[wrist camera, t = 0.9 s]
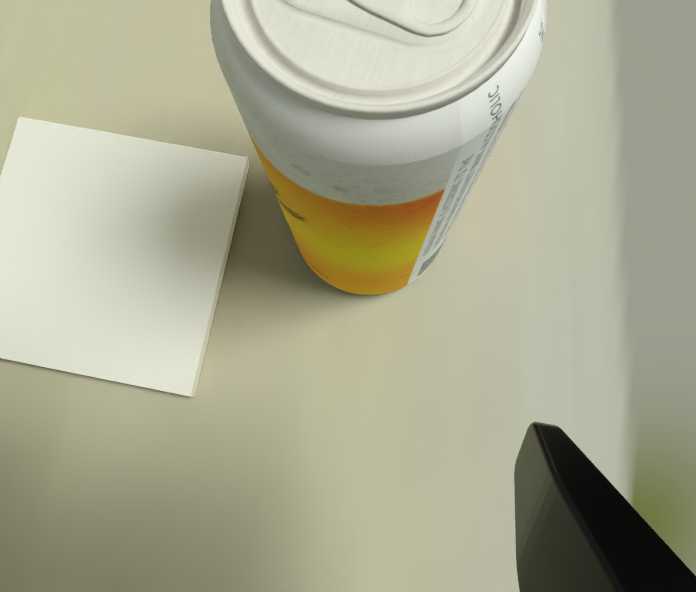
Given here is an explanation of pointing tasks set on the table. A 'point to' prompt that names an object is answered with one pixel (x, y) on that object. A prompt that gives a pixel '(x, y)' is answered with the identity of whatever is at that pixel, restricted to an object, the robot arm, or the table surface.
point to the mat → (113, 252)
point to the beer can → (375, 118)
